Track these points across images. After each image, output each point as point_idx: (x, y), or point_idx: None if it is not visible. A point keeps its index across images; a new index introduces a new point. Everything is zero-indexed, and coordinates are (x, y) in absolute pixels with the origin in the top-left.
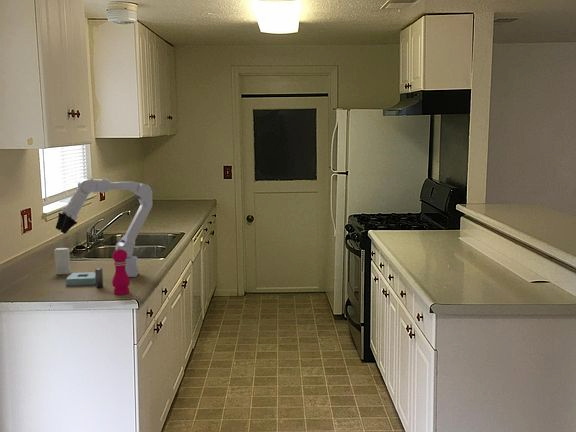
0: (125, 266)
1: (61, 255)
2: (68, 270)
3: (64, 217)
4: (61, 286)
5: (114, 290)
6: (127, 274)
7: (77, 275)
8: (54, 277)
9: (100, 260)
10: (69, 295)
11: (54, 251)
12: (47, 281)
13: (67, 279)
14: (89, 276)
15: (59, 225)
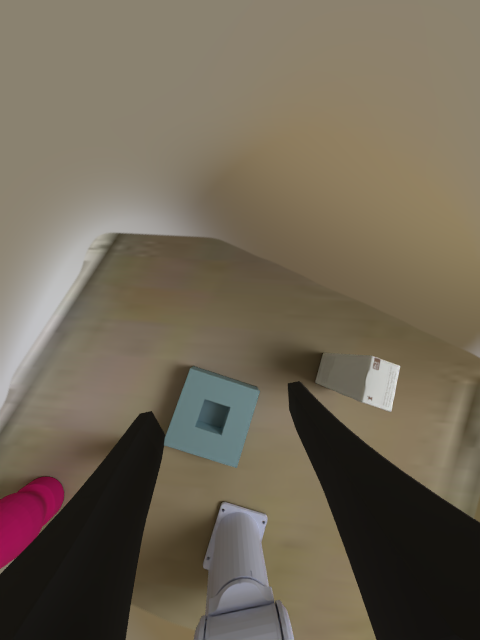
0: (213, 570)
1: (350, 376)
2: (319, 384)
3: (382, 593)
4: (194, 354)
5: (28, 485)
6: (214, 545)
7: (220, 402)
8: (295, 346)
9: (449, 480)
10: (93, 365)
11: (366, 356)
12: (260, 327)
13: (189, 372)
14: (192, 434)
15: (305, 426)
